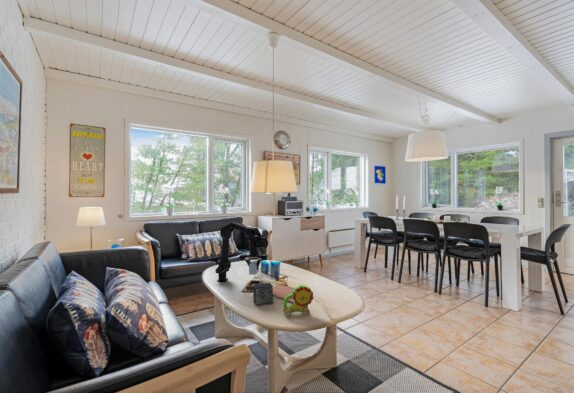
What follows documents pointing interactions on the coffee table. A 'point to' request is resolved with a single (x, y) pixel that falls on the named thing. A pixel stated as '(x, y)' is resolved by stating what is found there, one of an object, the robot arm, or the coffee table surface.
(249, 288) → the keyed nest
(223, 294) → the coffee table surface
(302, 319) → the coffee table surface
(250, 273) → the key block
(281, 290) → the notebook
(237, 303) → the coffee table surface
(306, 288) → the toy lion
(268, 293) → the small box
